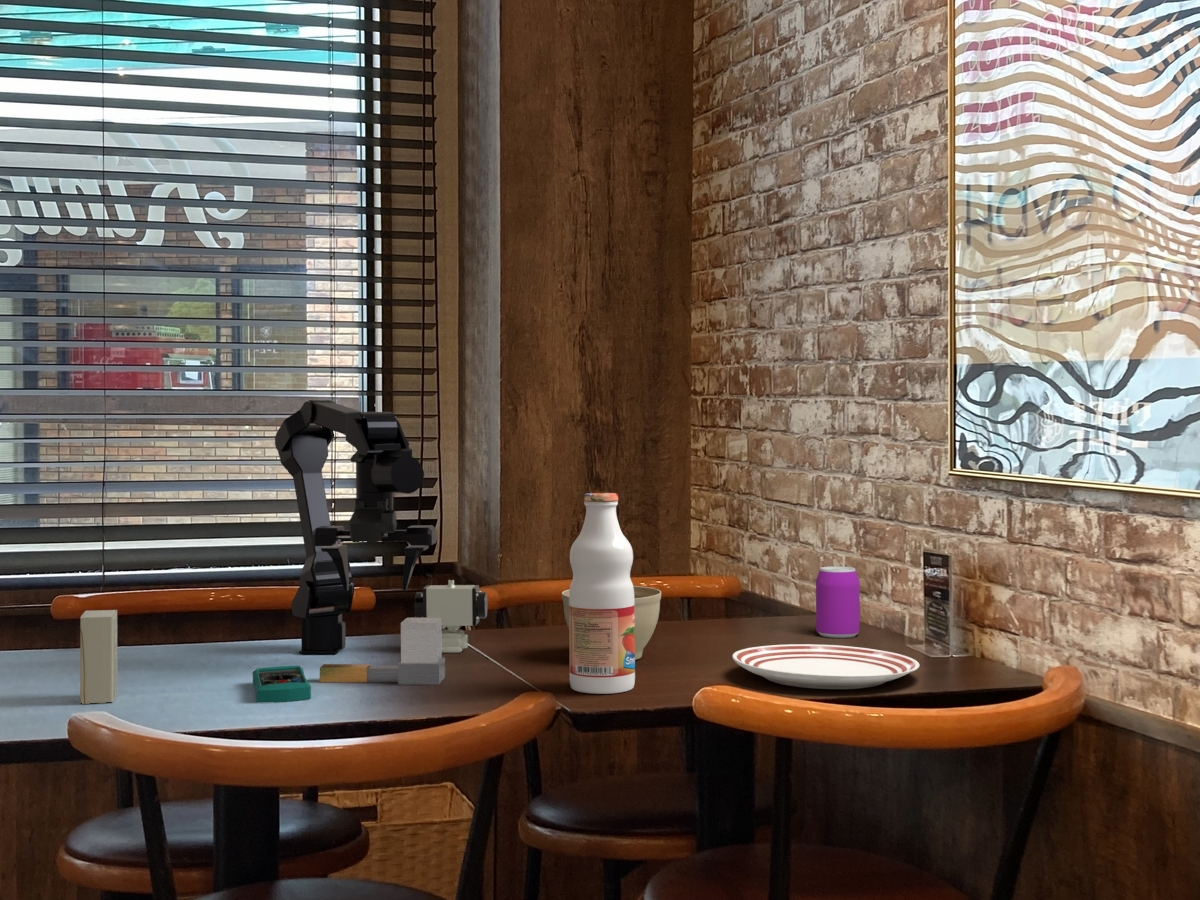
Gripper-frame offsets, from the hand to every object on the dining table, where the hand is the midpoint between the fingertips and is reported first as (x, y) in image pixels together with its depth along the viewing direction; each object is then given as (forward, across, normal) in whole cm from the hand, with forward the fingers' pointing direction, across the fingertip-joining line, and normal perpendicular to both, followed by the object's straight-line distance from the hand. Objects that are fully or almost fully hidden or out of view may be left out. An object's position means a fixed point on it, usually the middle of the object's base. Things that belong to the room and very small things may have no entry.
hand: (375, 590), depth 203 cm
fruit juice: (+12, +36, -17) cm, 42 cm away
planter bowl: (+12, +37, +7) cm, 40 cm away
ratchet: (+12, +3, -11) cm, 17 cm away
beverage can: (+12, +77, +29) cm, 83 cm away
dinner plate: (+12, +69, -9) cm, 71 cm away
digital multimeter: (+13, -10, -18) cm, 25 cm away
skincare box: (+12, -34, -24) cm, 43 cm away
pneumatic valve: (+12, +10, +14) cm, 21 cm away
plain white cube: (+9, +9, -11) cm, 17 cm away
